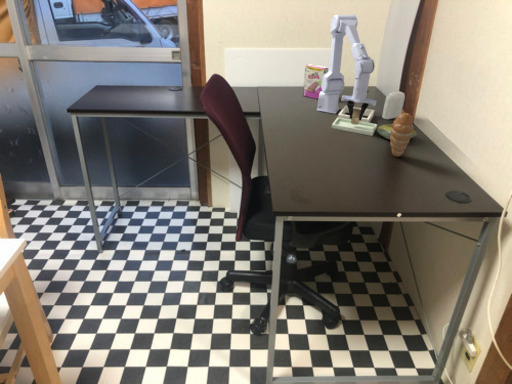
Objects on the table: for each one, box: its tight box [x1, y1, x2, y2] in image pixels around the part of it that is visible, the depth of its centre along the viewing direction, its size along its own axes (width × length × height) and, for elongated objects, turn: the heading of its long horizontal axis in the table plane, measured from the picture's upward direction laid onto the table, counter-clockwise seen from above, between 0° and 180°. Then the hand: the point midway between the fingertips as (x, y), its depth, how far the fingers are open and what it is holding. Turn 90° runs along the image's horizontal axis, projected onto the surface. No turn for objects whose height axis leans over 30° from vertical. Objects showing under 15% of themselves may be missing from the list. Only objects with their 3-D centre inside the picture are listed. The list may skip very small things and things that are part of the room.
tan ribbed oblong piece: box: [389, 109, 414, 158], centre depth 154 cm, size 9×8×18 cm
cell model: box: [376, 123, 417, 140], centre depth 173 cm, size 11×8×15 cm
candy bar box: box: [302, 63, 329, 100], centre depth 214 cm, size 11×5×16 cm, turn 58°
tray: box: [331, 116, 378, 137], centre depth 181 cm, size 18×10×2 cm, turn 66°
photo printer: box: [381, 91, 406, 120], centre depth 193 cm, size 10×4×12 cm, turn 123°
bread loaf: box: [351, 109, 361, 125], centre depth 179 cm, size 4×4×6 cm
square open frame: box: [337, 105, 375, 123], centre depth 192 cm, size 14×14×3 cm
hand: (355, 118), depth 180 cm, fingers closed on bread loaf, 4 cm apart
